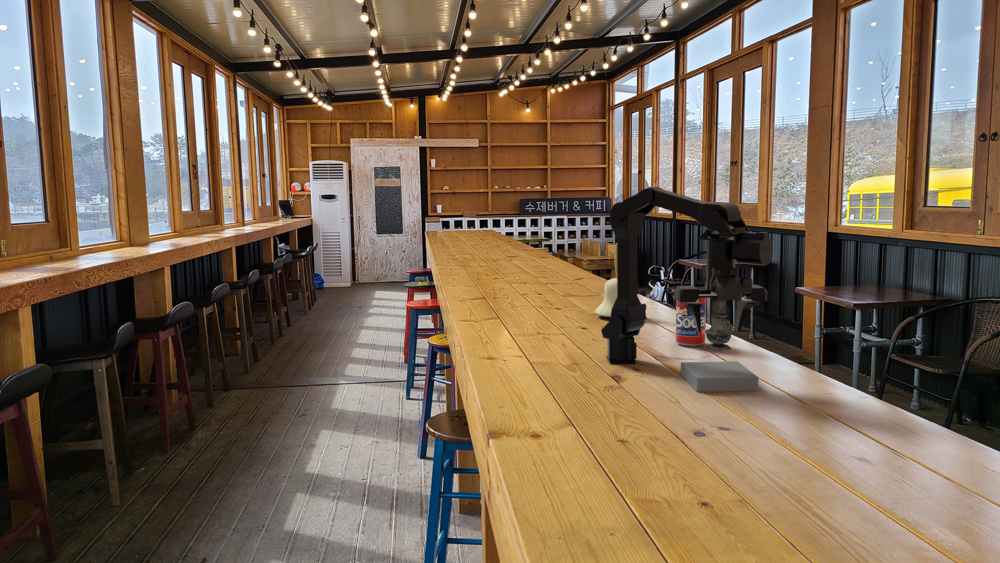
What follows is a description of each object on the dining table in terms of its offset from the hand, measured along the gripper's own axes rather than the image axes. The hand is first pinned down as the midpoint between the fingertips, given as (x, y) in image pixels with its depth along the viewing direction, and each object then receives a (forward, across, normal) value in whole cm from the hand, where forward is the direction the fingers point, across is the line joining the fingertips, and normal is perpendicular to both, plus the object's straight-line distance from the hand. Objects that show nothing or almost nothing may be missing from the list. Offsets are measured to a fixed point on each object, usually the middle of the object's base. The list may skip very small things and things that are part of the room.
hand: (718, 332), depth 147 cm
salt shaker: (+4, 0, 0) cm, 4 cm away
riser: (+11, 0, 0) cm, 11 cm away
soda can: (+12, +4, +36) cm, 38 cm away
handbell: (+12, -9, +76) cm, 77 cm away
